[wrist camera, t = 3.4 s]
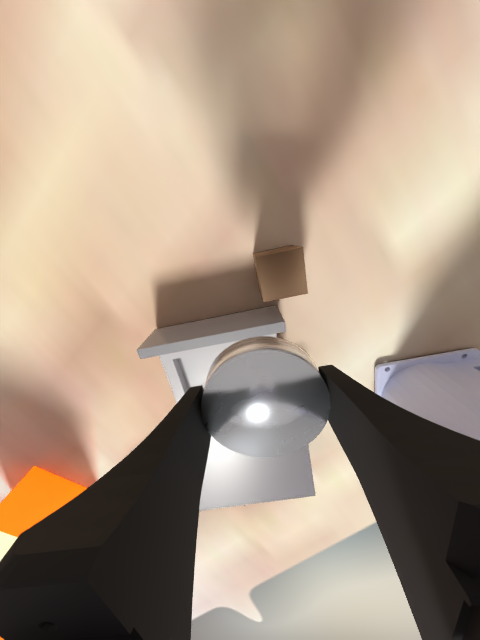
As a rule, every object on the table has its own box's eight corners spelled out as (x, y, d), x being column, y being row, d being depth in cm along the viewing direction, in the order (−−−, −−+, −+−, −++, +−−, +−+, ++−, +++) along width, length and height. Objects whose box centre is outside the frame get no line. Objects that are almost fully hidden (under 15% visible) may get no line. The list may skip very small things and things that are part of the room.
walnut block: (291, 245, 18) (302, 247, 15) (296, 283, 19) (307, 293, 16) (252, 253, 19) (255, 257, 15) (259, 291, 20) (263, 302, 16)
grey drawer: (276, 305, 20) (284, 321, 16) (291, 396, 23) (300, 427, 20) (155, 329, 21) (136, 349, 17) (186, 413, 24) (176, 446, 20)
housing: (293, 385, 23) (304, 418, 19) (303, 455, 27) (315, 495, 22) (180, 404, 24) (168, 439, 20) (204, 469, 28) (198, 511, 23)
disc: (315, 327, 10) (328, 343, 9) (321, 422, 12) (332, 449, 10) (194, 346, 10) (186, 364, 9) (218, 435, 12) (215, 463, 11)
